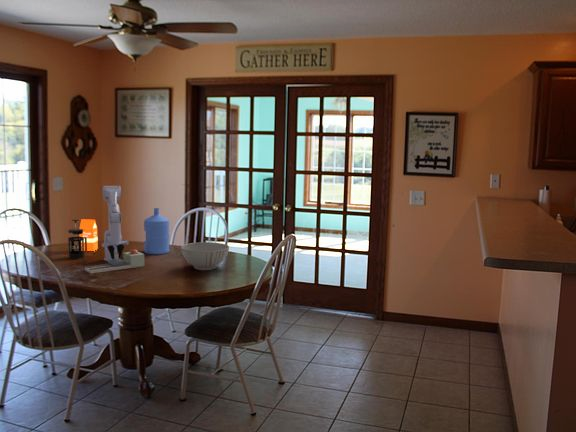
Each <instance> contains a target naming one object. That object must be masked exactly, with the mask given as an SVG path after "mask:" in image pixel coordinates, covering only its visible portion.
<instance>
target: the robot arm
mask: <svg viewBox="0 0 576 432" xmlns="http://www.w3.org/2000/svg"><path fill="white" fill-rule="evenodd" d="M121 189H122V188H121V185H103V186H102V199H103V201H104V202H106V204H107V211H108V212H107V214H108V215H107V216H108V218H107V219H108V229H107V230H106V231H104V234H103V242H101V248H104V258H103V260H104V261H105V262H108V260H109V259H114V253H115V252H117V253H119V259H121V258H122V257H121V256H122V253H123V250H124V248H125V245H127V246H129V244H130V243H129V240H123V236H122V230H121V229H122V228H121V226H122V225H121V224H122V212H121V211H120V205H119V204H118V203H117V202H118V201H120V199H121V193H122V190H121Z"/></svg>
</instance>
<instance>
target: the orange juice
mask: <svg viewBox="0 0 576 432" xmlns="http://www.w3.org/2000/svg"><path fill="white" fill-rule="evenodd" d="M96 222H97V221H96V219H87V218H86V219H83V218H82V219H81V220H80V225H79V228H78V229H84V230H83V234H78V235H79V236H78V237H87V251H94V252H96V251H98V250H97V249H98V248H99V246H98V243H99V241H98V240H99V238H98V226H97V223H96ZM81 246H82V241H81ZM95 250H96V251H95ZM81 251H82V249H81ZM84 251H85V238H84Z"/></svg>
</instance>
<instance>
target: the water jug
mask: <svg viewBox="0 0 576 432" xmlns="http://www.w3.org/2000/svg"><path fill="white" fill-rule="evenodd" d="M143 229H144V230H143V231H144V232H145V240H144V243H143V245H144V248H143V249H144V250H143V252H144V254H147V255H164V254H168V253H169V252H170V219H169V218H167V217H165V216H162V215H161V214H160V208H158V207H156V208H153V215H151V216H149V217H147V218H144V220H143Z"/></svg>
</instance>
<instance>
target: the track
mask: <svg viewBox="0 0 576 432" xmlns="http://www.w3.org/2000/svg"><path fill="white" fill-rule="evenodd" d="M122 253H123V257H122V258H123V259H122V260H124V264H121V265H111V264H109V263H105V264H98V265H89V266H85V267H84V271H85V272H87V273H89V274H97V273H105V272H111V271H119V270H125V269H134V268H140V267H145V253H143V252H140V251H137V254H131V253H130V251H127V252H122Z"/></svg>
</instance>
